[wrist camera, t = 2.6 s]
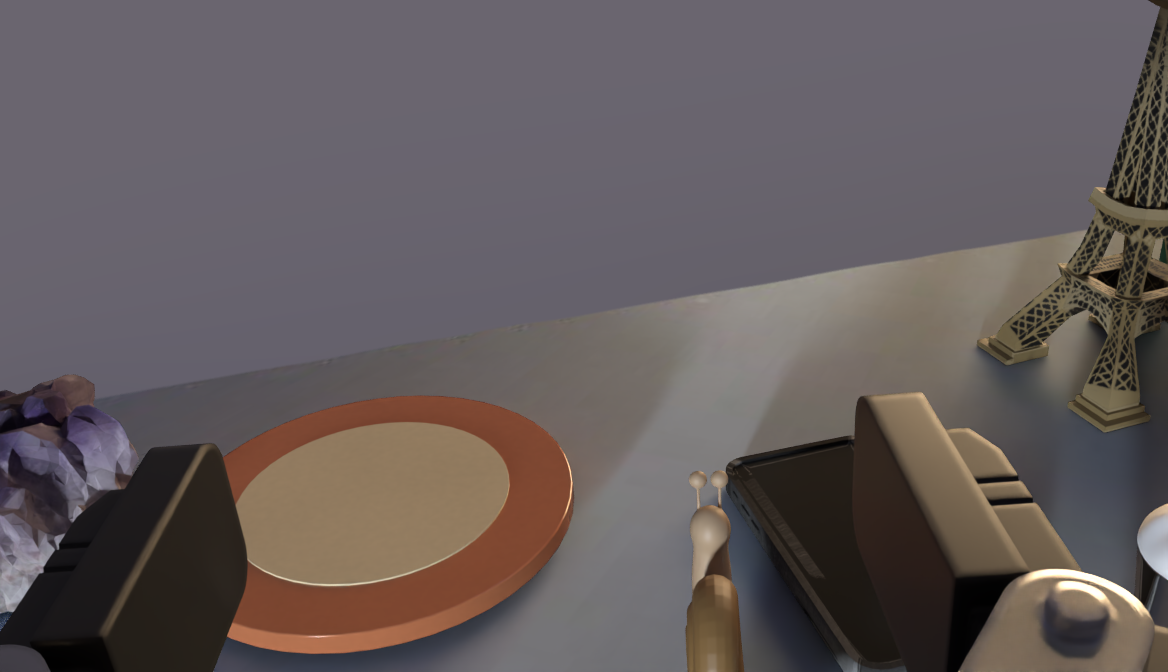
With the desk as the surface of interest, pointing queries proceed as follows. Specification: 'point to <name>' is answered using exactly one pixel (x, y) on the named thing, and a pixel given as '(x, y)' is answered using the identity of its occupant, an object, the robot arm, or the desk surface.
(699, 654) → the snail figurine
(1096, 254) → the eiffel tower
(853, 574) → the phone
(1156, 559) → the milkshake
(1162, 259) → the coffee box
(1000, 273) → the desk surface
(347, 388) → the desk surface
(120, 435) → the geode
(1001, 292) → the desk surface
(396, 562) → the plate
